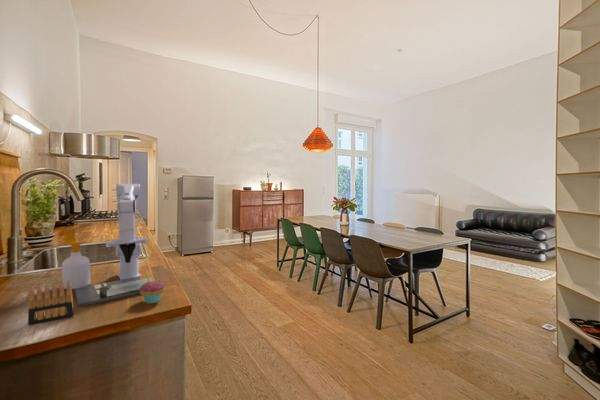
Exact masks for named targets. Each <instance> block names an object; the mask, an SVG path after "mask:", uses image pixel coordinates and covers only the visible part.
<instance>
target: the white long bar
mask: <svg viewBox="0 0 600 400" xmlns="http://www.w3.org/2000/svg"><path fill="white" fill-rule="evenodd" d="M149 279H150V282H151V281H155V279H153V278H152V277H150V276H149ZM147 282H148V280H147V277H145V278H142V279H141V278H140V280H136V281H131V282H126V283H122V284H117V285H112V286H103V287H100V288H99V292H100V297H102V298H103V297H108V296H112V295H116V294H120V293H125V292H129V291H134V290H138V289H139V288H140V287H141V286H142V285H144V284H145V283H147Z"/></svg>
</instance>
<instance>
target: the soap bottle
mask: <svg viewBox="0 0 600 400" xmlns="http://www.w3.org/2000/svg"><path fill="white" fill-rule="evenodd" d="M81 228H83V226H77V227H71V228H68V229H66V230H64V243H65V245H66V246H71V248H72V249H71V250H70V256H69V257H67V258H66V259H65V260H63V261H62V263H61V273H62V274H61V275H62V276H61V278H62V279H61V280H62V282H63V284H64V290H66V287H67V282H68V280H69V281H70V283H71V290H75V288H80V287H85V286H90V284H91V261H90V259H89V258H88V256H87V257H86V256H84V255H82V252H81V251H82V250H81V249H80V248H79V247H81V246H80V245H84V244H85V243H84V242H81V241H79V242H78V241H76V231H77V230H79V229H81Z"/></svg>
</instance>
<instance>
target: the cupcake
mask: <svg viewBox="0 0 600 400" xmlns="http://www.w3.org/2000/svg"><path fill="white" fill-rule="evenodd" d="M145 274H146V278H147V280H148V282H147V283H145V284H144V285H142V286H141V287H140V288H139V292H140V294H139V295H141V296H142V298H143V300H144V303H146V304H154V303H158V302H159V301H160V299H161V297H162V294H163V293H164V292H165V291H166V286H165V283H164V282H162V281H158V280H154V281H151V282H150V279H149V278H150V274H149V271H148V269H147V268H146V269H145Z"/></svg>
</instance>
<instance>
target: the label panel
mask: <svg viewBox="0 0 600 400" xmlns="http://www.w3.org/2000/svg"><path fill="white" fill-rule="evenodd" d="M136 280H141V278H140V277H134V278H129V279H123V280H121V279H119V280H114V281H113V280H112V281H107V282H103V283H96V284H91V285H87V286H85V287H80V288H75V289H74V294H75V297H76V302H77V306H78V308H81V307H85V306H90V305H94V304H95V305H96V304H99V303H103V302H109V301H112V300H119V299H122V298H126V297H131V296H135V295H141V294H140V292H139V289H138V290H134V291H129V292H125V293H120V294H116V295H112V296H108V297H103V298H102V297H100V292H99V288H100V287H103V286H112V285H117V284H122V283H126V282H131V281H136Z"/></svg>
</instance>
